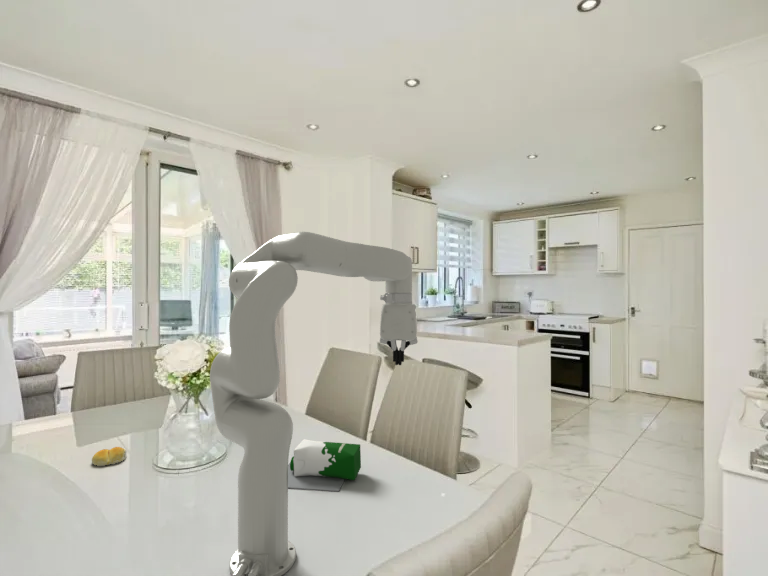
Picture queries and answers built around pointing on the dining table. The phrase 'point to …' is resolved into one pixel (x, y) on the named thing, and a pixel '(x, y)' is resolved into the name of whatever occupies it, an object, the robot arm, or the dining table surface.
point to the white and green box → (326, 459)
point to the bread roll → (109, 456)
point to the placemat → (313, 482)
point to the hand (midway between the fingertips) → (398, 364)
